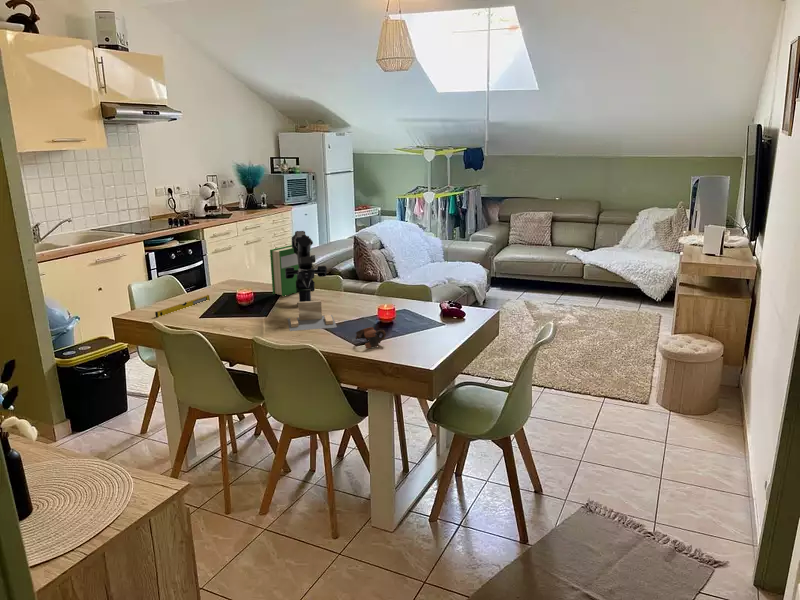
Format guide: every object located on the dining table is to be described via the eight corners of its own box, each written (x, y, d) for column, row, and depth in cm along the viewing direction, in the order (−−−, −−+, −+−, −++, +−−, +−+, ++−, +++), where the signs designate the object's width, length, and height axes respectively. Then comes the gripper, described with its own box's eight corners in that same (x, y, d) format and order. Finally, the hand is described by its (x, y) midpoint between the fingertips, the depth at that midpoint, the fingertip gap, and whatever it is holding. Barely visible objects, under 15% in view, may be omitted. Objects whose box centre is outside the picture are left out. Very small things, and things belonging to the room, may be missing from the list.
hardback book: (283, 296, 313) (280, 251, 307) (272, 294, 317) (269, 249, 311) (306, 289, 327) (304, 245, 321) (296, 287, 331) (293, 244, 325)
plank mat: (287, 320, 272) (287, 314, 272) (332, 317, 277) (331, 311, 276) (289, 333, 254) (289, 327, 254) (337, 329, 259) (336, 323, 258)
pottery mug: (359, 351, 234) (353, 331, 236) (360, 354, 244) (354, 334, 245) (388, 342, 235) (382, 322, 237) (389, 345, 244) (383, 325, 246)
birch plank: (299, 319, 270) (298, 301, 268) (321, 317, 272) (320, 300, 270) (299, 320, 268) (298, 303, 266) (322, 318, 271) (321, 301, 268)
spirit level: (157, 318, 279) (157, 311, 279) (155, 317, 280) (155, 311, 279) (209, 300, 308) (209, 295, 308) (207, 300, 309) (207, 294, 308)
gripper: (284, 250, 274) (286, 279, 266) (325, 248, 278) (329, 276, 270) (284, 263, 283) (286, 292, 276) (324, 261, 287) (327, 289, 280)
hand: (307, 287), depth 275 cm, fingers closed
